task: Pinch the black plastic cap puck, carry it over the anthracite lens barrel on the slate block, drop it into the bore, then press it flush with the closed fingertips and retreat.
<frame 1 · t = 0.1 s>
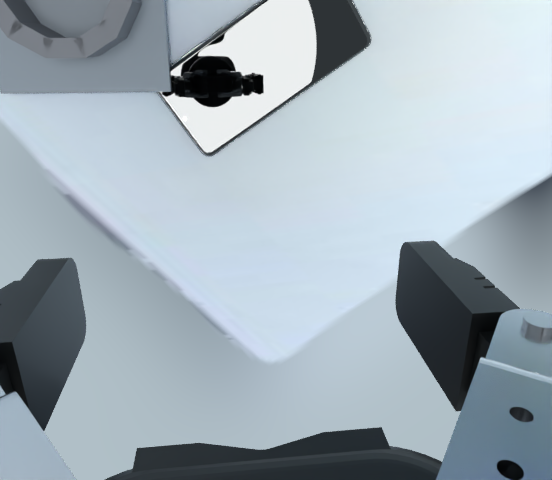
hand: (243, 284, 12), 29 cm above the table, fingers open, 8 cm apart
smartphone: (262, 61, 38), on the table
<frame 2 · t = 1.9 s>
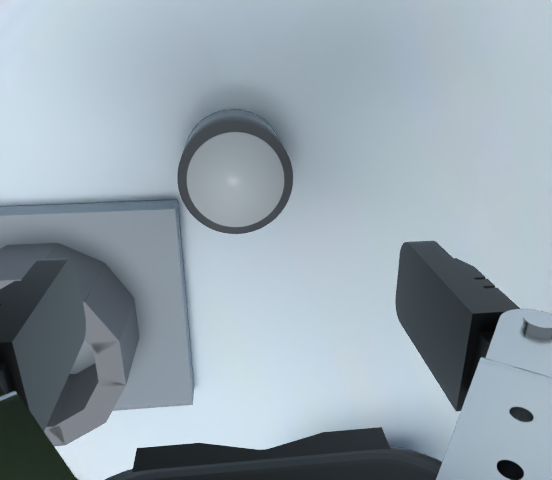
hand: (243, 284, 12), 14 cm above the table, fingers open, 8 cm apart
cap: (234, 159, 25), on the table
lens barrel: (58, 308, 27), on the table
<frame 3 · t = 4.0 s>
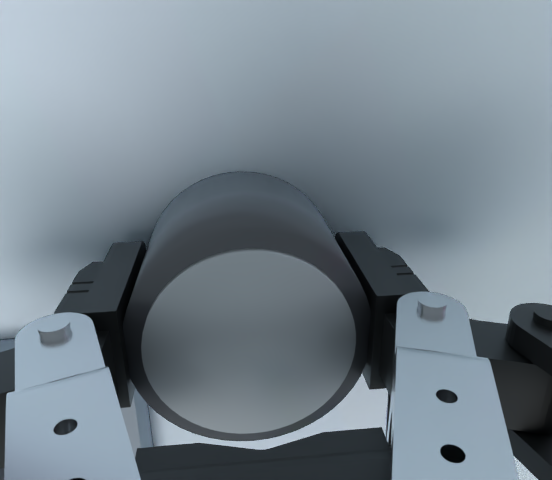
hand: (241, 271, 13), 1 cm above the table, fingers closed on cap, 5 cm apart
cap: (242, 260, 14), on the table, touching gripper
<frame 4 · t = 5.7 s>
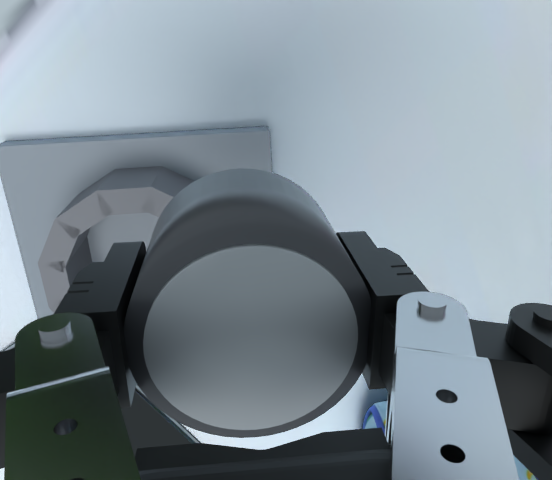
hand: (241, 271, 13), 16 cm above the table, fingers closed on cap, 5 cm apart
cap: (243, 257, 14), point 15 cm above the table, touching gripper
lens barrel: (153, 236, 29), on the table
smartphone: (107, 412, 34), on the table
when the fingers open (7 cm above the table, at t = 7.8 s): cap drops 5 cm, resting on lens barrel.
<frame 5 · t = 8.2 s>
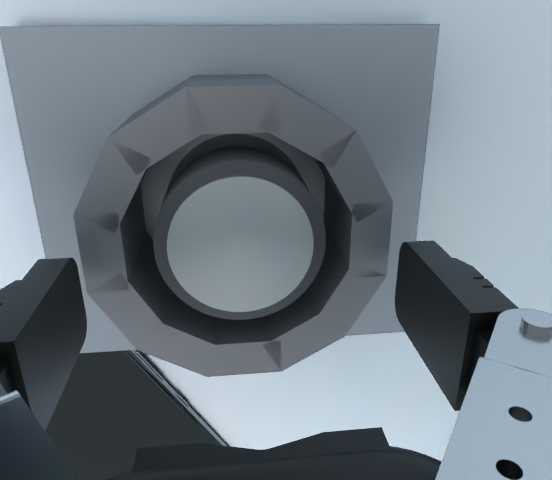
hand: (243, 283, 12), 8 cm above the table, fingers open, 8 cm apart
cap: (237, 202, 18), point 2 cm above the table, touching lens barrel
lens barrel: (234, 192, 19), on the table
smartphone: (143, 444, 24), on the table
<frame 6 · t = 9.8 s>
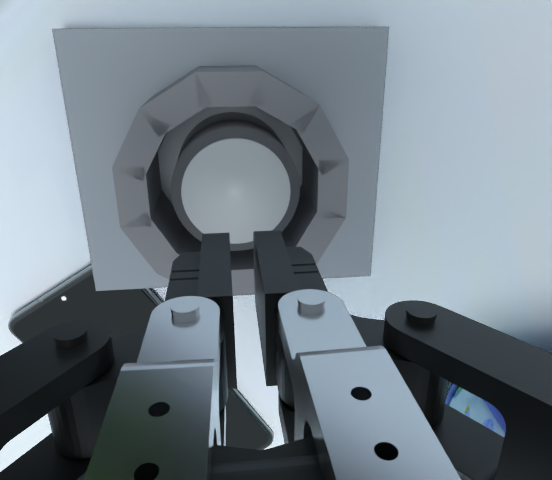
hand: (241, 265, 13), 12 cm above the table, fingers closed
cap: (233, 167, 23), point 2 cm above the table, touching lens barrel
lens barrel: (231, 160, 24), on the table
smartphone: (155, 376, 29), on the table
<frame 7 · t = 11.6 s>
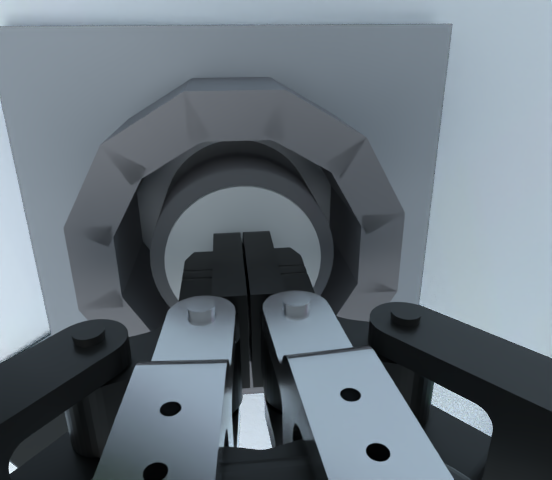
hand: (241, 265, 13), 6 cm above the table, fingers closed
cap: (238, 211, 17), point 1 cm above the table, touching lens barrel
lens barrel: (235, 200, 19), on the table
smartphone: (140, 459, 24), on the table
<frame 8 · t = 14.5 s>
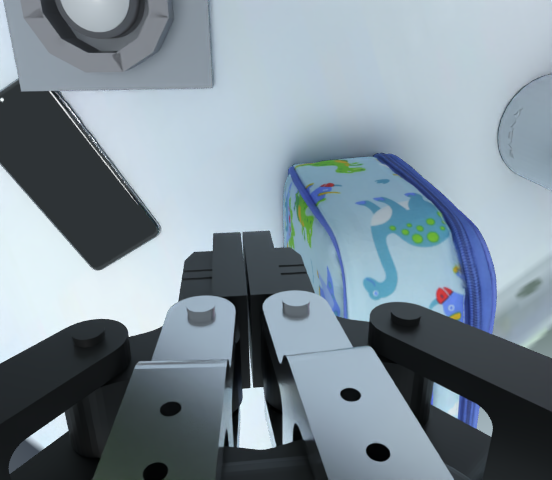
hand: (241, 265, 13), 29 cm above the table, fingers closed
lunch box: (338, 279, 47), on the table
cap: (108, 0, 35), point 1 cm above the table, touching lens barrel
lens barrel: (111, 2, 36), on the table
smartphone: (72, 175, 41), on the table
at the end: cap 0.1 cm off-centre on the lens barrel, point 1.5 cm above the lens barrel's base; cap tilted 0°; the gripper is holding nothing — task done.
